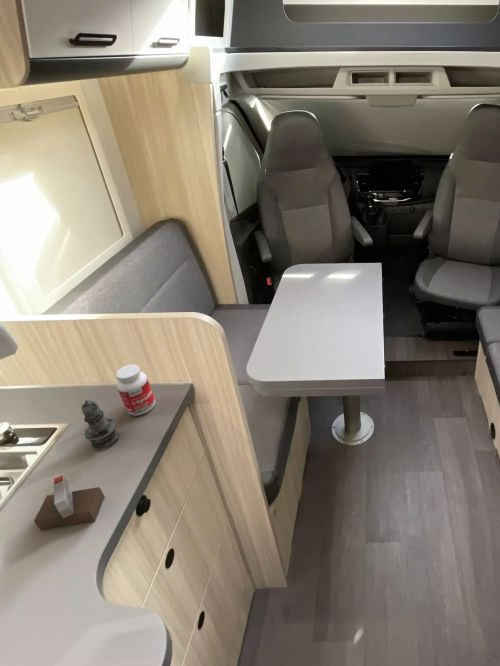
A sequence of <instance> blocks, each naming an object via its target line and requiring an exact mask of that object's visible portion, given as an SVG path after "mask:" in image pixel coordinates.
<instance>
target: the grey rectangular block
mask: <svg viewBox="0 0 500 666" xmlns="http://www.w3.org/2000/svg"><path fill="white" fill-rule="evenodd" d="M72 491H73V488H72V486H71V485H70V483H69V481H68V480H67V477H66V476H65V475H64V474H63V475H60V476H57V477H55V478H53V494H54V505H55V506H56V508H57V510H58V511H59V513H60V514H61V516H62V517H63V518H65V517H67V516H70V515H72V514H73V498H72Z"/></svg>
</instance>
